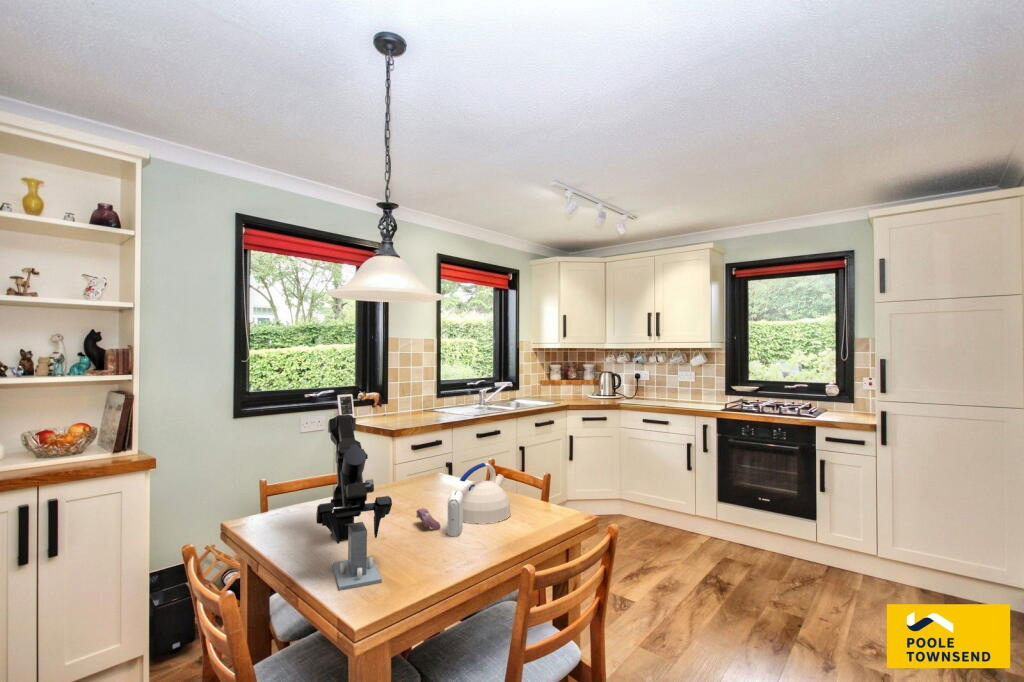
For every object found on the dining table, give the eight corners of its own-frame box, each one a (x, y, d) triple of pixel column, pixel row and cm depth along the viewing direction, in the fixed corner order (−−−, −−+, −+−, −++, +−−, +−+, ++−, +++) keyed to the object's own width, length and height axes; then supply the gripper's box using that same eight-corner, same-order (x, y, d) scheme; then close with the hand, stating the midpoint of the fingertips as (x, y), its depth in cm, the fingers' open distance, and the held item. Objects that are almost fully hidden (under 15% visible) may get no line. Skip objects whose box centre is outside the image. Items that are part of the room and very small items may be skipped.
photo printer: (460, 536, 150) (460, 496, 150) (446, 536, 150) (446, 496, 150) (463, 525, 160) (464, 487, 160) (450, 525, 160) (451, 487, 160)
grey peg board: (332, 565, 129) (332, 552, 129) (371, 558, 133) (371, 546, 133) (339, 590, 115) (339, 576, 115) (381, 582, 120) (382, 568, 120)
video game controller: (420, 526, 163) (411, 509, 161) (432, 518, 165) (423, 501, 163) (430, 536, 154) (420, 518, 153) (442, 527, 156) (433, 509, 155)
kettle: (523, 514, 172) (523, 463, 172) (480, 529, 157) (480, 473, 157) (484, 502, 185) (484, 454, 186) (441, 514, 170) (441, 463, 171)
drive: (347, 566, 127) (347, 523, 127) (362, 563, 128) (362, 521, 128) (350, 577, 120) (351, 532, 121) (366, 574, 122) (367, 530, 122)
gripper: (317, 472, 125) (320, 530, 114) (391, 466, 133) (399, 519, 122) (315, 495, 131) (317, 551, 121) (385, 487, 140) (392, 540, 129)
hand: (357, 540), depth 123 cm, fingers open, 9 cm apart
